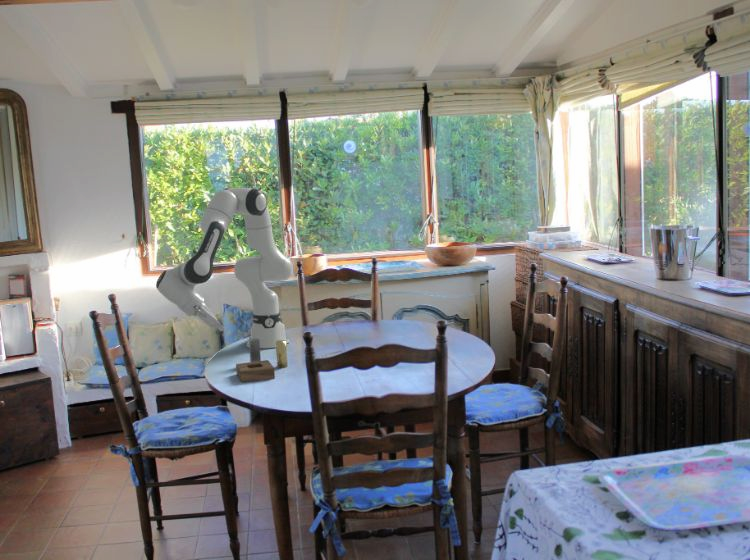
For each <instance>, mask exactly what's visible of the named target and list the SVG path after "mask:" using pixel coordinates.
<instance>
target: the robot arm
mask: <svg viewBox="0 0 750 560" xmlns="http://www.w3.org/2000/svg"><path fill="white" fill-rule="evenodd" d="M268 207H269V206H268V197H267V196H266V193H265V192H264V191H263V190H260V189H258V188H250V187H226V188H223V189H220V190H217V191H216V193H215V194H213V196H212V198H211V199H210V201H209V202H208V203H207V206H206V207H205V209H204V210H203V214H202V217H201V219H200V223H199V226H200V229H201V231H202V232H203V234H204V235H203V238H202V241H201V243H200V245H199V248H198V250H197V252H196V253H195V254H194V256H192V257H190V258H189V259H188V260H187V261H184V262H183V263H181V264H179V265H178V266H175V267H173V268H170V269H168V270H167V269H165V270H164V271H163V272H161V274H160V275H159V276H158V279H157V280H156V283H155V287H156V290H157V291H158V292H159V294H161V295H162V296H163V297H164V298H166V299H167V300H168V301H169V302H170V303H173V304H175V306H177V308H178V309H179V310H180V311H182V312H183V313H184V314H185V315H186V316H188V317H191V316H193V317H194V318H195V317H198V318H199V319H200V320H201V321H202V322H203V323H205V324H206V325H207V326H208V327H210V328H213V327H214V328H216V329H218V331H220V332H223V331H224V330H225V327H224V326H223V325H222V323H221V321H219V320H218V319H217V317H216V316H215V315H214V313H213V312H212V310H211V309H210V308H209V307H208V306H207V305H206V302H205V297H203V296H202V295H201V294H199V292H197V291H196V290H195V287H196V286H197V285H199V284H204V283H206V282H208V281H209V280H210V279H211V278H212V275H213V271H214V260H215V256H216V253H217V251H218V249H219V246H220V244H221V241H222V239H223V237H224V235H225V234H226V232H227V231H228V230H229V227H230V225H231V224H232V221H233V219H234V216H235V215H236V216H237V215H238V216H239V215H240V216H244V227H245V236H246V243H247V245H248V246H249V247H250V248H251V249H252V250H254V251H256V252H258V253H259V254H260V255H261V256H247V257H242V258H239V259H237V260H236V262H235V263H234V268H233V272H234V275H235V277H236V279H237V280H238V281H239V282H241V283H242V284H244V286H245V287H246V289H247V290H248V292H249V294H250V297H251V301H252V311H253V312H252V325H251V328H250V329H248V330H247V336H249V337H248V338H247V340H246V341H247V342H246V348H248V349H249V339H255V338H258V339H259V342H260V349H273V348H276V341H278V340H286V345H287V344H290V340H289V339H287V338H286V327H285V324H284V323H282V322H281V317H282V316H281V312H280V304H279V296H278V294H277V293H276V292H275V291H274V290H272V289H270V288H268V286H267V285H266V284H265V283H266V282H267V283H269V282H272V283H276V282H277V283H278V282H283V281H286V280H289V279H290V278H291V277H292V276H293V272H294V264H293V262H292V260H291V259H290V258H289V257H287V256H285V255H284V254H283V253H282V252H281V251H280V250H279V248H278V246H277V245H276V242H275V238H274V234H273V227H272V225H273V224H272V218H271V215H270V214H271V213H270V210H269V208H268Z"/></svg>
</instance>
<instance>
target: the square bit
mask: <svg viewBox="0 0 750 560" xmlns="http://www.w3.org/2000/svg"><path fill="white" fill-rule="evenodd" d="M248 349H249V362H256V361H262V360H261V359H262V357H261V348H260V342H259V339H258V338H255V339H249V348H248Z"/></svg>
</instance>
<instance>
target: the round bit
mask: <svg viewBox="0 0 750 560" xmlns="http://www.w3.org/2000/svg"><path fill="white" fill-rule="evenodd" d="M275 350H276V368H277V369H285V368H287V367H288V365H289V364H288V351H287V350H288V348H287V344H286V340H278V341H276V347H275Z"/></svg>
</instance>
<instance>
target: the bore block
mask: <svg viewBox="0 0 750 560" xmlns="http://www.w3.org/2000/svg"><path fill="white" fill-rule="evenodd" d="M235 366H236V368H235V370H236V375H237V377H238V379H239V380H240V382H241V383H249V382H250V383H251V382H258V381H265V380H272V379H273V380H274V379H275V378H276V376H275V375H276V374H275V367H274V366H273V364H272V363H271V362H270V361H269V359H266V360H261V361H256V362H250V361H248V362H242V363H235Z"/></svg>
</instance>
